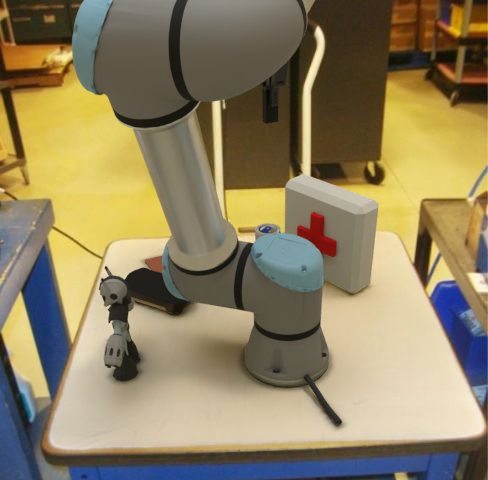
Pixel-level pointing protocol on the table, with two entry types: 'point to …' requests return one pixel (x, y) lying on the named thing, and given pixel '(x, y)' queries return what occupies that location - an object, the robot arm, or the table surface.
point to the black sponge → (153, 291)
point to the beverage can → (266, 230)
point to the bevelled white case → (334, 228)
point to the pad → (155, 264)
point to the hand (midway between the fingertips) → (270, 121)
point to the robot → (119, 328)
